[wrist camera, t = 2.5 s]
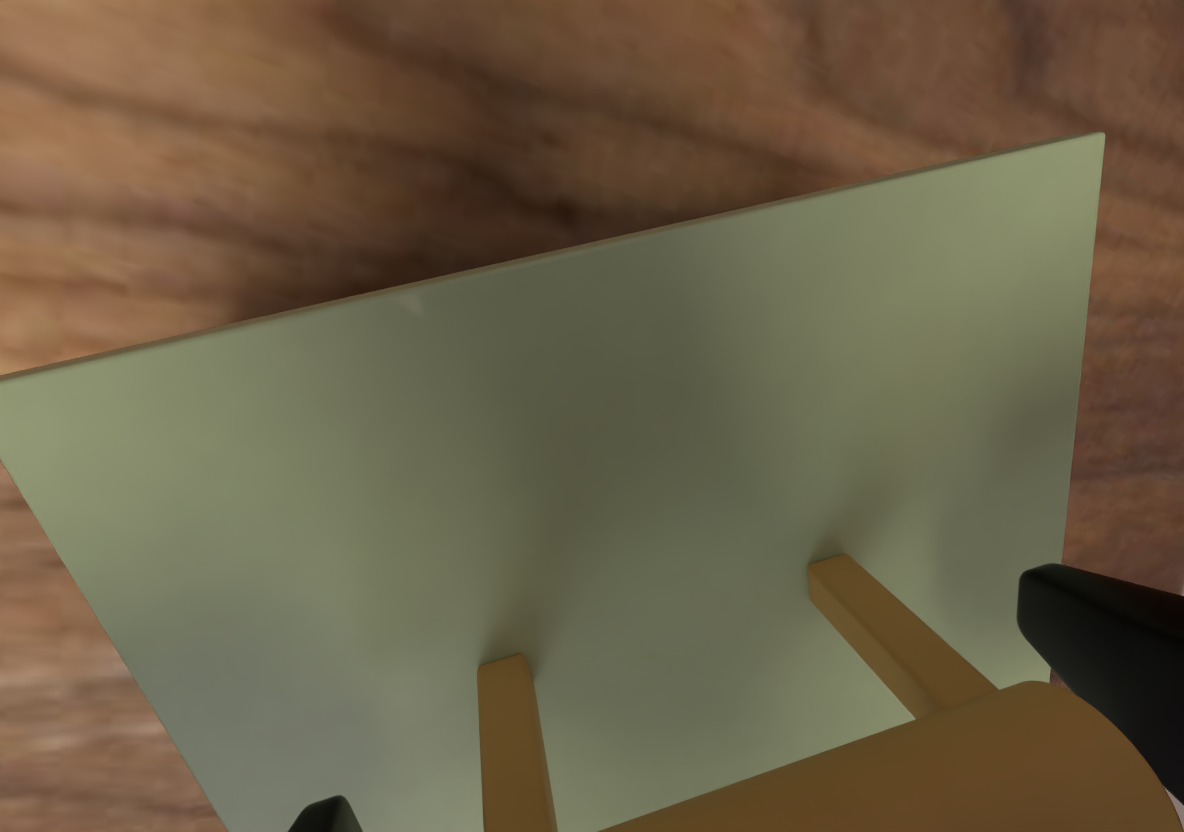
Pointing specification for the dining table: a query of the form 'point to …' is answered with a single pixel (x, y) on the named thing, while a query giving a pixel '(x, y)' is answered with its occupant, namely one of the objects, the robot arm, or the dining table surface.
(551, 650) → the lid
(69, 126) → the dining table surface
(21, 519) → the dining table surface
